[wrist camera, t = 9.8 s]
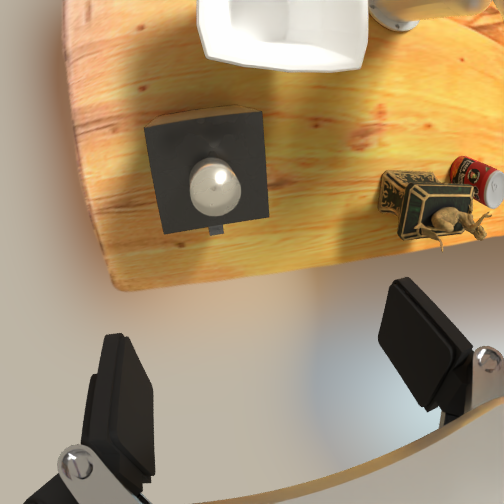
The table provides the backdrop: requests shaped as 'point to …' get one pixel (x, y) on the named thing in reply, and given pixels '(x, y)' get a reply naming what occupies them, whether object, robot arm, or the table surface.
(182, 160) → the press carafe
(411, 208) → the decorative box
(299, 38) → the bowl
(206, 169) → the plunger
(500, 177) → the canned food
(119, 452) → the robot arm
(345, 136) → the table surface
